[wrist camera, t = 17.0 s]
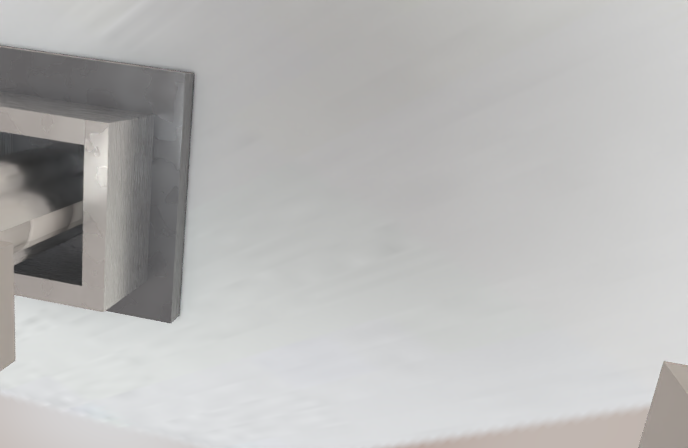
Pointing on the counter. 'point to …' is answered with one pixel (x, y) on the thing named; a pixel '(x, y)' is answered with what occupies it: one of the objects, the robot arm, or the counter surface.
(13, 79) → the plate
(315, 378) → the counter surface
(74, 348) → the counter surface
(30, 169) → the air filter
